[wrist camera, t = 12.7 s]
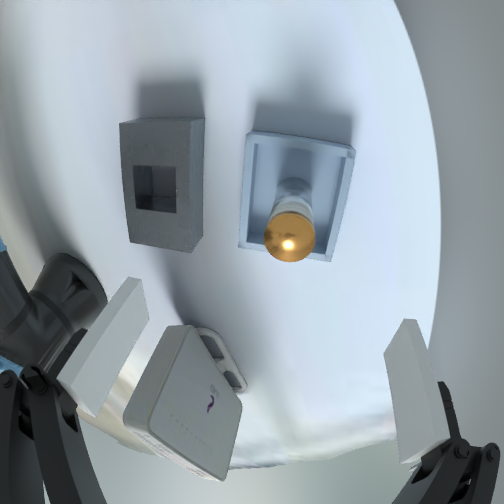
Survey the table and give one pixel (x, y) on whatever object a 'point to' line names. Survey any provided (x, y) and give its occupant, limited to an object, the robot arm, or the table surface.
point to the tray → (301, 166)
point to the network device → (188, 402)
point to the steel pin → (291, 222)
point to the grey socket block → (140, 181)
